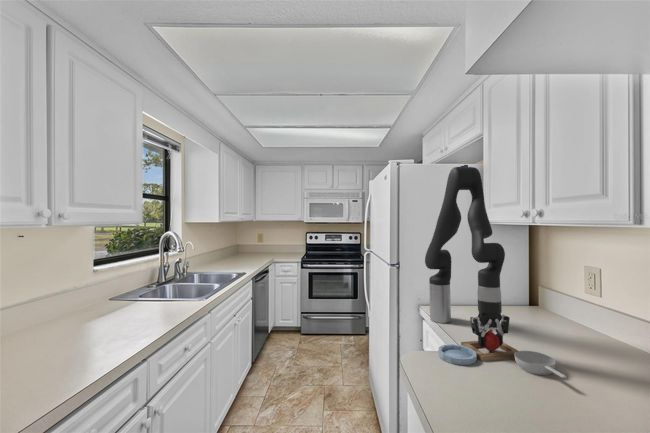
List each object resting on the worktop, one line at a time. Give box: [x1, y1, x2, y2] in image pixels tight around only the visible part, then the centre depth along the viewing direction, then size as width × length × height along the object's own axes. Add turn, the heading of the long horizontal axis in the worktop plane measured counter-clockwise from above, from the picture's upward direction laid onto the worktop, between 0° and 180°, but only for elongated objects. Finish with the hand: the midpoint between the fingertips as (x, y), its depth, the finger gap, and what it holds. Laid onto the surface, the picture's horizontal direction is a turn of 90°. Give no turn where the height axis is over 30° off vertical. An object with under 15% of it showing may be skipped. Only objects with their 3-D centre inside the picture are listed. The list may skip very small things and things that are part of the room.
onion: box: [484, 329, 500, 353], centre depth 110 cm, size 6×6×8 cm
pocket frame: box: [460, 340, 519, 362], centre depth 110 cm, size 12×15×2 cm
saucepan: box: [514, 350, 568, 379], centre depth 94 cm, size 11×18×4 cm, turn 0°
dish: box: [438, 343, 478, 366], centre depth 107 cm, size 12×12×2 cm
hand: (490, 345), depth 110 cm, fingers closed on onion, 6 cm apart
